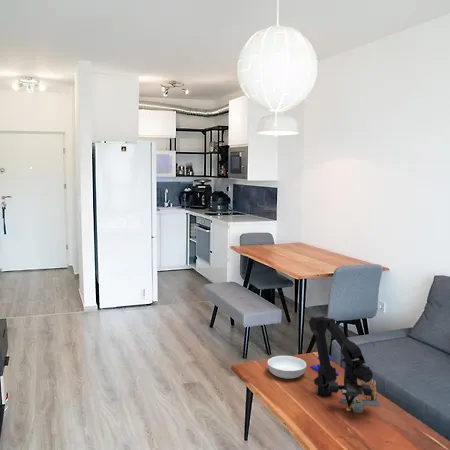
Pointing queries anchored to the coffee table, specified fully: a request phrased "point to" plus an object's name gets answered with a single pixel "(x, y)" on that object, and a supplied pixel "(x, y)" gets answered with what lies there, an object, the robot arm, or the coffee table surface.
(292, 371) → the serving bowl
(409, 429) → the coffee table surface
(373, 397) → the ammunition clip
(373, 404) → the hole plate
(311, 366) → the mount
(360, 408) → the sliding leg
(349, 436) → the coffee table surface
